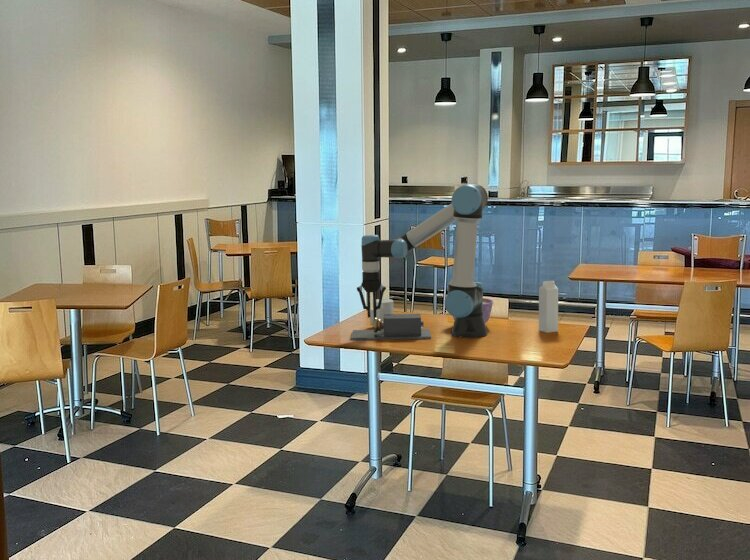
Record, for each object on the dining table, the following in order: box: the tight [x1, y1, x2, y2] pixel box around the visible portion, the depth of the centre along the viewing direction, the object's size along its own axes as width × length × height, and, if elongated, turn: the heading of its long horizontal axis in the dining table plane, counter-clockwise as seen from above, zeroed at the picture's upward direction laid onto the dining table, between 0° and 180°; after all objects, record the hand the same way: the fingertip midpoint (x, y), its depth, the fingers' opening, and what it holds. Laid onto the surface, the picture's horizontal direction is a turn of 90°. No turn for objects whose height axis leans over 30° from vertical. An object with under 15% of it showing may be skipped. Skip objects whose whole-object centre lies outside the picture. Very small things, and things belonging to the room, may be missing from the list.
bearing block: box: [350, 313, 432, 341], centre depth 318 cm, size 34×16×8 cm, turn 88°
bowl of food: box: [452, 297, 494, 324], centre depth 333 cm, size 20×20×12 cm
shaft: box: [373, 317, 425, 333], centre depth 317 cm, size 22×7×7 cm, turn 88°
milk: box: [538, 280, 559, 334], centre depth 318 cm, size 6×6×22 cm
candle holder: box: [371, 298, 394, 321], centre depth 338 cm, size 10×10×12 cm
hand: (372, 324), depth 318 cm, fingers closed
